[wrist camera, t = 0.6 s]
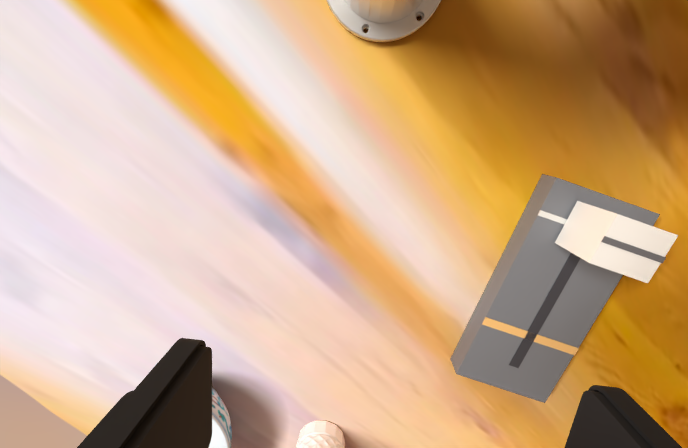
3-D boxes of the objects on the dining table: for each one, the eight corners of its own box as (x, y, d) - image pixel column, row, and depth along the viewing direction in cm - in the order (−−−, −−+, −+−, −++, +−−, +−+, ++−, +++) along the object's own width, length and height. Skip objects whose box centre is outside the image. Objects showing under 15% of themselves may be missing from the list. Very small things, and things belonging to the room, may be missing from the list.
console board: (542, 174, 40) (557, 177, 37) (638, 208, 40) (660, 214, 37) (450, 358, 46) (456, 374, 43) (533, 386, 47) (545, 403, 44)
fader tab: (576, 200, 37) (617, 213, 31) (629, 219, 37) (679, 235, 31) (554, 242, 38) (589, 263, 32) (605, 260, 38) (649, 283, 33)
